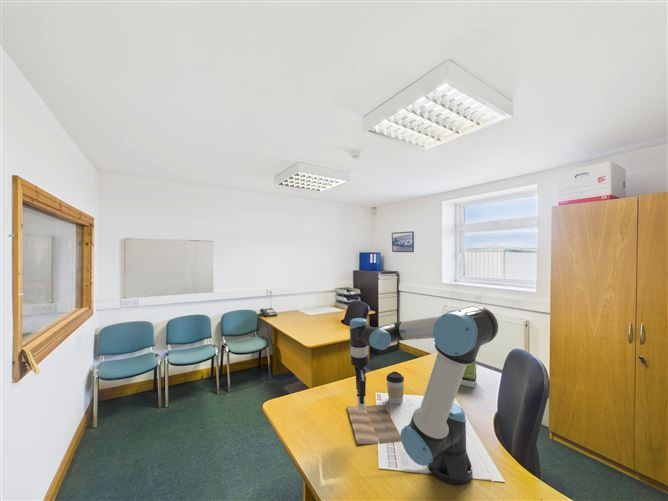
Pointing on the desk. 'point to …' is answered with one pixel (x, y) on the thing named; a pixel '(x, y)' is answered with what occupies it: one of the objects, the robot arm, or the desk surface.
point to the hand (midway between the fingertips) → (361, 409)
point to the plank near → (364, 434)
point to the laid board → (383, 424)
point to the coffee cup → (395, 387)
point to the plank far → (357, 415)
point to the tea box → (469, 376)
